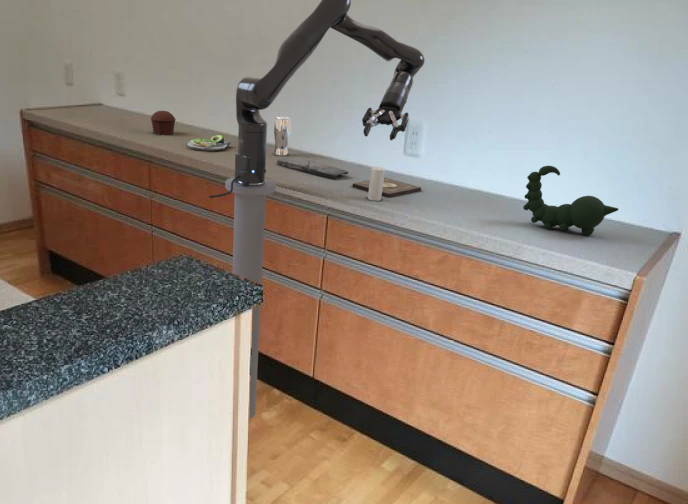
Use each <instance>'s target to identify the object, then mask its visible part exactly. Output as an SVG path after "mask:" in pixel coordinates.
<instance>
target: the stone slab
mask: <svg viewBox="0 0 688 504" xmlns="http://www.w3.org/2000/svg"><path fill="white" fill-rule="evenodd" d="M276 161H277V165H279V166H282V167H284V168H285V167H286V168H288V169H295V170H298V171H300V172H306V173H308V174H312V175H315V176H318V177H323V178H326V179H330V180H334V181H335V180H336V179H337V178H338V177H339V176H340V175H348V174H349V171H348V170H345V169H342V168H339V167H336V166H334V165H329V164H325V163H321V162H316V161H314V160H309V159H304V158H299V157H285V158H280V159H277V160H276Z"/></svg>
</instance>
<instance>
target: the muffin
mask: <svg viewBox="0 0 688 504" xmlns="http://www.w3.org/2000/svg"><path fill="white" fill-rule="evenodd" d="M150 121H151V125H152V133H153V134H154V135H159V136H172V135H173V134H174V131H175V125H176V123H175V122H176V118H175V116H174V115H173V114H172V112H170V111H168V110H158V111H157V110H156V112H154V113H152V115H151V117H150Z"/></svg>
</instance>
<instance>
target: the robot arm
mask: <svg viewBox="0 0 688 504" xmlns="http://www.w3.org/2000/svg"><path fill="white" fill-rule="evenodd" d="M351 5H352V0H321V1H320V2H319V3H318V4H317V6H316V7H315V9H313V11H312V12H311V13H310V14H309V15H308V16H307V17H306V18H305V19H304V20H303V21H301V22H300V24H299V25H297V27H296V28H295V29H294V30H293V31H292V32H291V33H290V34H289V35H288V36H287V37H286V38H285V39H284V40H283V42H281V44H280V46H279V47H278V49H277V54H276V58H275V62H274V65H273V66H272V67H271V69H270V70H268V72H267V73H266V74H265V75H263V76H262V77H260V78H259V77H253V76H246V77H243V78H242V79H240V80H239V81H238V84H237V87H236V92H235V116H236V117H235V118H236V120H237V125H238V136H237V137H238V139H237V153H235V156H234V158H235V160H234V177H235V178H234V177H233V178H234V179H233V180H232V182H231V190H230V191H227V192H224V193H220V194H212V195H209V196H208V197H209V199H214V198H221V197H225V196H227V195H231V194H232V193H233V192H232V191H233V183H234V181H235V183H238V184H241V185H244V186H261V185H264V184H265V179H266V173H267V170H266V163H267V162H266V161H267V143H268V141H267V140H268V122H267V120H265V119H264V118H263V117H262V115H261V114H260V111H262V110H265V109H268V108H269V107H270V106H271V104H273V103H274V101H275V100H276V99H277V97H278V96H279V94H280V93H281V91H282V90H283V89H284V87H285V86H286V85H287V84H288V82H289V81H290V79H291V78H292V77H293V76H294V75H295V74H296V72H297V71H298V70H299V69H300V68H301V67H302V66H303V65H304V64H305V63H306V62H307V60H308V59H309V58H310V57H311V56H312V55H313V54H314V52H315V51H316V49H317V48H318V46H319V45H320V44H321V42H322V40H323V38H324V37H325V35H326V34H327V32H328V31H329V30H330V29H332V30H334V31H336V32H338V33H340V34H342V35H344V36H346V37H348V38H350V39H352V40H353V41H355V42H358V43H359V44H361V45H363V46H364V47H366V48H367V49H368V50H370V51H372V52H373V53H374V54H376V55H377V56H378V57H380V58H381V59H383V60H384V61H386V62H392V60H395V59H398V60H399V61H398V63H397V64H396V66H395V68H394V72H393V75H392V76H393V77H392V78H391V81H390V83H389V85H388V87H387V89H386V90H385V92H384V94H383V97H382V99H381V101H380V104H379V106H378V108H377V109H376V110H374V109H372V107H368V108H367V109H366V112H365V114H364V115H363V117H362V119H361V122H362V126H363V127H364V128H363V135H364V137H368V136H369V134H370V132H371V130H372V128H374V127H376V126H378V125H386V126H390V125H391V127H392V129H391V131H390V134H389V141H393V140H395V139H396V138H397V135H398V133H399V132H402V133H404V132H406V129H407V126H408V123H409V120H410V117H409V112H405V113H402V112H403V110H404V108H405V106H406V104H407V102H408V98H409V94H410V92H411V90H412V88H413V85H414V77H416V75H417V74H418V72H419V71H420V70H421V69H422V68H423V67H424V65H425V62H426V60H425V56H424V54H423V53H422V51H420V50H419V49H418V48H416V47H414V46H411V45H408V44H406V43H404V42H400V41H398V40H396V38H394V37H392V36H391V35H390V34H389V33H387V32H386V31H385V30H383V29H380V28H378V27H375V26H371V25H366V24H363V23H362V22H361V23H360V22H358V21H356V20H354V19H353V18H352V17H351V16H349V12H350V9H351ZM399 120H401V122H400V124H398V121H399Z"/></svg>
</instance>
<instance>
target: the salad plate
mask: <svg viewBox="0 0 688 504" xmlns="http://www.w3.org/2000/svg"><path fill="white" fill-rule="evenodd" d="M229 145H232V142H230V141H229V142H228V141H225V138H224V136H223V135H222V134H215V135H213V136H211V137H210V138H209V139H205V138H201V137H199V138H195V139H191V140H190V141H188V143H187V147H189V148H190V149H191V150H194V151H203V152H218V151H223V150H225V149H226V148H227V147H229Z"/></svg>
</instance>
